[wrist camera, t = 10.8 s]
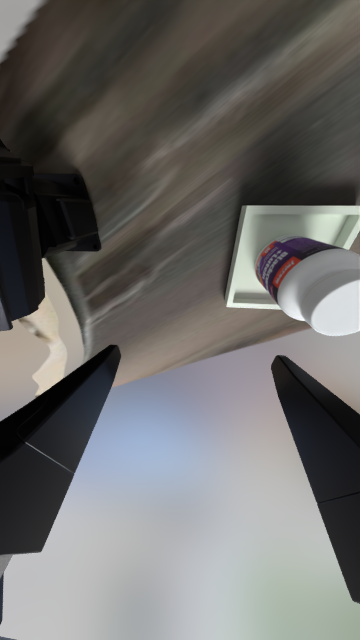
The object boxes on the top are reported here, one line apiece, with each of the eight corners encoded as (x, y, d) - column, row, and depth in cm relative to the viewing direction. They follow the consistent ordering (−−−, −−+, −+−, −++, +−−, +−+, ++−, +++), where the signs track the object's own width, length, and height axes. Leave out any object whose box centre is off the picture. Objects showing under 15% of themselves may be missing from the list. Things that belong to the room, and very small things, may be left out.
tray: (224, 299, 21) (226, 306, 19) (242, 205, 15) (247, 205, 13) (304, 303, 20) (312, 310, 19) (355, 205, 14) (374, 205, 13)
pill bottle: (256, 237, 16) (316, 268, 8) (316, 229, 15) (449, 255, 7) (250, 288, 19) (288, 346, 11) (299, 283, 18) (379, 343, 10)
